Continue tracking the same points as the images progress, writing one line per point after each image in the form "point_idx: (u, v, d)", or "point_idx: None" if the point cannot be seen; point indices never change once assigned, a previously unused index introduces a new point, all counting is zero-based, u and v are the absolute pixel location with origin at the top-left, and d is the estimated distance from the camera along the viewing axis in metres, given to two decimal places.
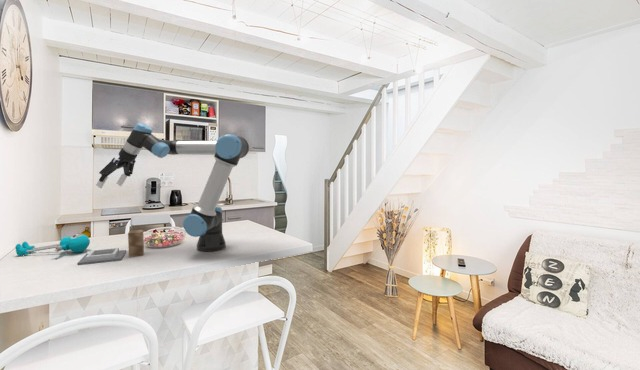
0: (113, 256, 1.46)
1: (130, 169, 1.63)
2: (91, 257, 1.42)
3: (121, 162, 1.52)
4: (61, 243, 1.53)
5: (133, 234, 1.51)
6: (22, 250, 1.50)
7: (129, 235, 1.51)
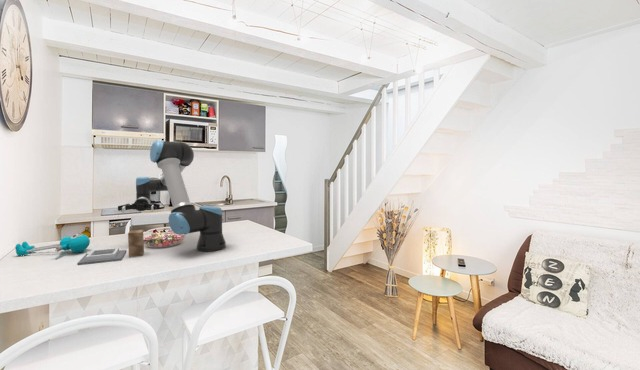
0: (113, 256, 1.46)
1: None
2: (91, 257, 1.42)
3: None
4: (61, 243, 1.53)
5: (133, 234, 1.51)
6: (22, 250, 1.50)
7: (129, 235, 1.51)
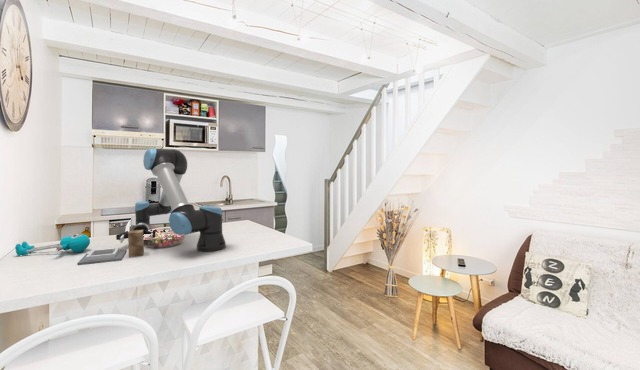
0: (113, 256, 1.46)
1: None
2: (91, 257, 1.42)
3: None
4: (61, 243, 1.54)
5: (133, 234, 1.51)
6: (22, 250, 1.50)
7: (129, 235, 1.51)
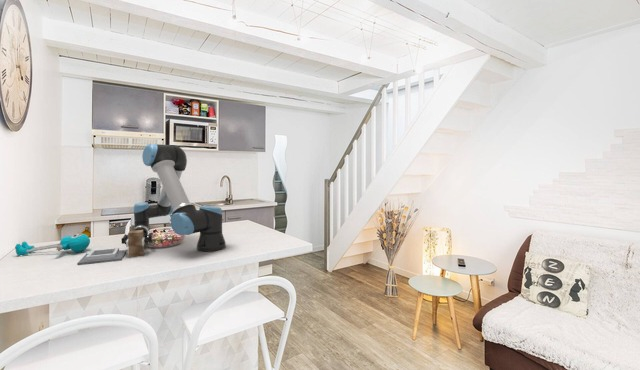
0: (113, 256, 1.46)
1: (149, 236, 1.62)
2: (91, 257, 1.42)
3: None
4: (62, 243, 1.54)
5: (133, 234, 1.51)
6: (22, 250, 1.50)
7: (129, 235, 1.51)
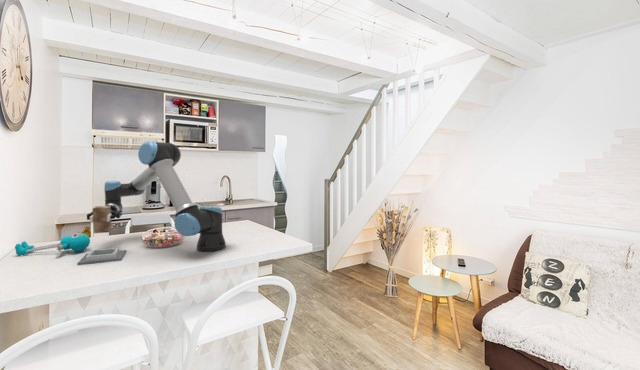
0: (113, 256, 1.46)
1: None
2: (91, 257, 1.42)
3: None
4: (62, 242, 1.54)
5: (98, 209, 1.45)
6: (22, 250, 1.50)
7: (94, 210, 1.44)
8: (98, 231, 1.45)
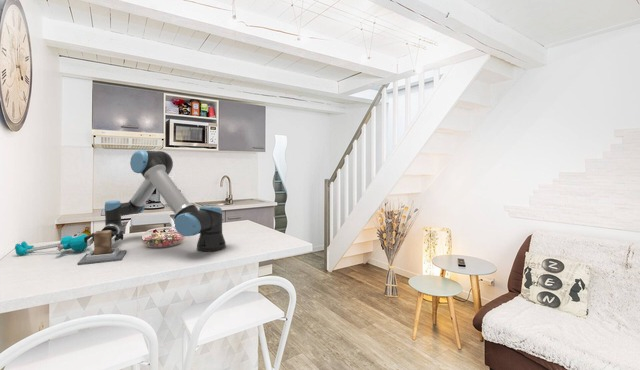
0: (113, 256, 1.46)
1: (120, 234, 1.57)
2: (91, 257, 1.42)
3: None
4: (62, 242, 1.55)
5: (99, 234, 1.45)
6: (22, 250, 1.51)
7: (95, 235, 1.45)
8: None
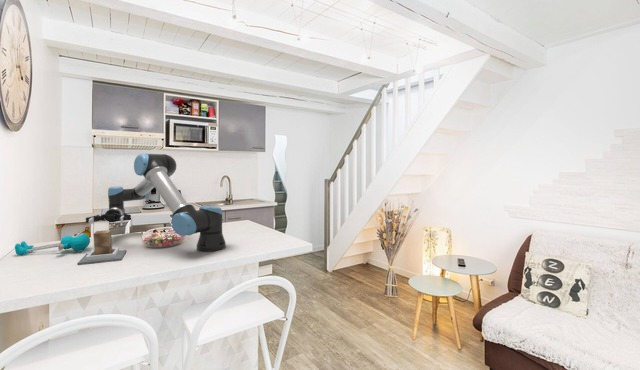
0: (113, 256, 1.46)
1: None
2: (91, 257, 1.42)
3: None
4: (62, 242, 1.55)
5: (99, 234, 1.45)
6: (22, 250, 1.51)
7: (95, 236, 1.45)
8: None
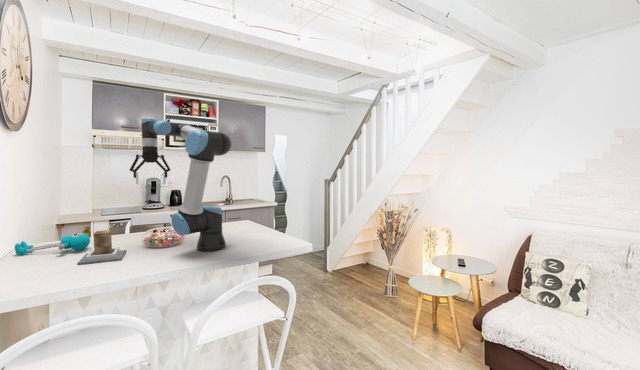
0: (113, 256, 1.46)
1: (165, 165, 1.75)
2: (91, 257, 1.42)
3: (143, 156, 1.70)
4: (62, 242, 1.55)
5: (99, 234, 1.45)
6: (22, 250, 1.51)
7: (95, 236, 1.45)
8: None
